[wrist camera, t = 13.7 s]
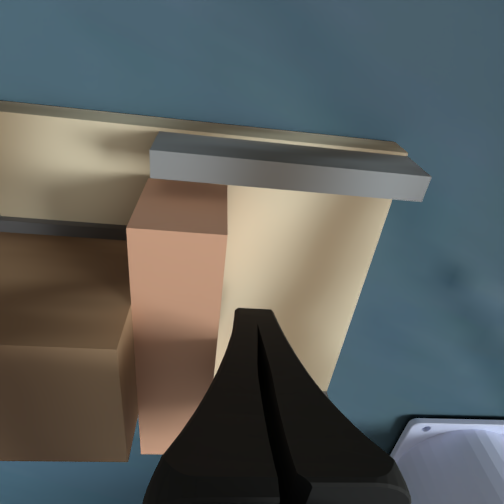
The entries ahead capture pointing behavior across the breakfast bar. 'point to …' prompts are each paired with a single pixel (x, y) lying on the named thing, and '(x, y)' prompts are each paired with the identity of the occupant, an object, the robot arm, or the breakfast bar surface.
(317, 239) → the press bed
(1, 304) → the block
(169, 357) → the block
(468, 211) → the breakfast bar surface
